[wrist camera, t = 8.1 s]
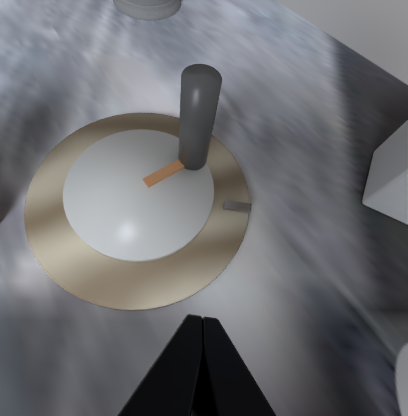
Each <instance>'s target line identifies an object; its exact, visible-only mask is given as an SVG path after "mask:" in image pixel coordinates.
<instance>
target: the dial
mask: <svg viewBox="0 0 408 416" xmlns="http://www.w3.org/2000/svg"><path fill="white" fill-rule="evenodd" d="M221 84H222V77H221V75H220V73H219V72H218V71H217V70H216V69H215V68H213V67H211V66H208V65H205V64H194V65H190V66H188V67H186V68H185V69H184V70H183V72H182V75H181V100H180V128H179V138H178V137H176V136H174V135H171V134H168V133H165V132H160V131H156V130H146V129H137V130H128V131H122V132H118V133H115V134H112V135H109V136H107V137H104V138H102V139H101V140H99V141H97V142H95V143H94V144H92V145H91V146H89V147H88V148H87V149H86V150H85V151H84V152H82V154H81V155H80V156H79V157H78V158H77V159H76V160H75V162H74V163H73V165H72V166H71V168H70V170H69V172H68V174H67V177H66V180H65V183H64V188H63V205H64V210H65V214H66V217H67V219H68V221H69V223H70V225H71V227H72V228H73V229H74V231H75V232H76V234H77V235H78V236H79V237H80V238H81V239H82V240H83V241H84V242H85V243H86V244H87V245H88V246H89V247H91V248H92V249H93V250H95V251H96V252H98V253H100V254H102V255H104V256H106V257H109V258H112V259H115V260H119V261H123V262H133V263H136V262H150V261H155V260H159V259H163V258H166V257H168V256H170V255H173V254H175V253H177V252H178V251H180V250H182V249H183V248H185V247H186V246H187V245H189V244H190V243H191V242H192V241H193V240H194V239H195V238H196V237H197V236H198V235H199V233H200V232H201V231H202V229H203V228H204V226H205V224H206V222H207V220H208V218H209V215H210V212H211V209H212V205H213V200H214V183H213V179H212V175H211V172H210V169H209V167H208V165H207V164H206V161H207V156H208V151H209V146H210V141H211V135H212V130H213V125H214V120H215V115H216V109H217V104H218V99H219V94H220V89H221Z"/></svg>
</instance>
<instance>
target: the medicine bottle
mask: <svg viewBox="0 0 408 416" xmlns="http://www.w3.org/2000/svg"><path fill="white" fill-rule="evenodd" d="M362 203H363V204H364V205H366V206H368V207H370V208H372V209H374V210H377V211H379V212H381V213H383V214H385V215H388V216H390V217H392V218H394V219H396V220H399V221H401V222H403V223H405V224H407V225H408V120H407V121H406V122H405V123H404V124H403V125H402V126H401V127H400V128H399V129H397V130H396V131H395V132H394V133H393V134H392V135H391V136H390V137H389V138H388V139H387V140H386V141H385V142H384V143H382V144H381V145H380V146H379V147H378V148H377V149H376V150H375V151H374V153H373V157H372V161H371V166H370V170H369V174H368V178H367V182H366V186H365V191H364V195H363V199H362Z"/></svg>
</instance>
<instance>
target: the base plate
mask: <svg viewBox="0 0 408 416" xmlns="http://www.w3.org/2000/svg"><path fill="white" fill-rule="evenodd" d="M179 128H180V119H179V118H176V117H172V116H167V115H162V114H154V113H130V114H122V115H116V116H112V117H108V118H104V119H101V120H98V121H96V122H93V123H91V124H88V125H86V126H84V127H82V128H80V129H79V130H77V131H75V132H74V133H72V134H71V135H69V136H68V137H66V138H65V139H64V140H63V141H61V142H60V143H59V144H58V145H57V146H56V147H55V148H54V149H53V150H52V151H51V152H50V153H49V154H48V155H47V156H46V158H45V159H44V160H43V162H42V163H41V164H40V166H39V168H38V169H37V171H36V173H35V175H34V176H33V179H32V181H31V184H30V186H29V189H28V193H27V197H26V201H25V213H24V219H25V230H26V234H27V238H28V242H29V245H30V247H31V250H32V252H33V254H34V256H35V258H36V260H37V261H38V263H39V264H40V266H41V267H42V269H43V270H44V271H45V272H46V273H47V274H48V275H49V276H50V278H51V279H52V280H53V281H54V282H56V283H57V284H58V285H60V286H61V287H62V288H63V289H65V290H66V291H68V292H69V293H71V294H73V295H75V296H77V297H78V298H80V299H82V300H85V301H87V302H90V303H93V304H95V305H98V306H102V307H106V308H111V309H116V310H129V311H136V310H150V309H155V308H160V307H165V306H168V305H171V304H174V303H177V302H180V301H182V300H184V299H186V298H188V297H190V296H192V295H194V294H196V293H197V292H199V291H200V290H202V289H203V288H205V287H206V286H208V285H209V284H210V283H211V282H212V281H213V280H214V279H216V278H217V277H218V276H219V275H220V274H221V273H222V271H223V270H224V269H225V268H226V267H227V265H228V264H229V263H230V262H231V260H232V258H233V257H234V255H235V254H236V252H237V251H238V249H239V247H240V244H241V242H242V240H243V238H244V234H245V231H246V227H247V223H248V216H249V212H250V211H251V204H249V197H248V191H247V186H246V182H245V179H244V176H243V174H242V172H241V169H240V167H239V165H238V164H237V162H236V161H235V159H234V157H233V156H232V155H231V153H230V152H229V151H228V150H227V148H226V147H225V146H224V145H223V144H222V143H221V142H220V141H218V140H217V139H216V138H215V137H214V136H212V135H211V141H210V146H209V151H208V156H207V161H206V164H207V165H208V167H209V169H210V172H211V175H212V179H213V183H214V200H213V205H212V209H211V212H210V215H209V218H208V220H207V222H206V224H205V226H204V228H203V229H202V231H201V232H200V233H199V235H198V236H197V237H196V238H195V239H194V240H193V241H192V242H191V243H190V244H189V245H187V246H186V247H185V248H183V249H182V250H180V251H178V252H177V253H175V254H173V255H170V256H168V257H166V258H163V259H159V260H155V261H150V262H136V263H133V262H123V261H119V260H115V259H112V258H109V257H106V256H104V255H102V254H100V253H98V252H96V251H95V250H93V249H92V248H91V247H89V246H88V245H87V244H86V243H85V242H84V241H83V240H82V239H81V238H80V237H79V236H78V235H77V234H76V232H75V231H74V229H73V228H72V227H71V225H70V223H69V221H68V219H67V217H66V214H65V210H64V205H63V188H64V183H65V180H66V177H67V174H68V172H69V170H70V168H71V166H72V165H73V163H74V162H75V160H76V159H77V158H78V157H79V156H80V155H81V154H82V152H84V151H85V150H86V149H87V148H88V147H89V146H91V145H92V144H94V143H95V142H97V141H99V140H101V139H102V138H104V137H107V136H109V135H112V134H115V133H118V132H122V131H128V130H137V129H146V130H156V131H160V132H165V133H168V134H171V135H174V136H176V137H178V138H179Z"/></svg>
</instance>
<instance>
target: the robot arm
mask: <svg viewBox="0 0 408 416" xmlns="http://www.w3.org/2000/svg"><path fill="white" fill-rule="evenodd" d="M118 416H276V415H275V413H274V411H273V410H272V408H271V406H270V405H269V403H268V401H267V400H266V398H265V396H264V395H263V393H262V391H261V390H260V388H259V386H258V385H257V383H256V381H255V380H254V378H253V376H252V375H251V373H250V371H249V370H248V368H247V366H246V365H245V363H244V361H243V360H242V358H241V356H240V355H239V353H238V351H237V350H236V348H235V347H234V345H233V343H232V342H231V340H230V338H229V337H228V335H227V333H226V332H225V330H224V328H223V327H222V325H221V323H220V322H219V320H218V319H217V318H211V317H203V318H202V317H201V316H198V315H191V314H188V315H187V316H186V317H185V319H184V320H183V322H182V323H181V324H180V326H179V327H178V329H177V330H176V332H175V333H174V335H173V336H172V337H171V339H170V340H169V342H168V343H167V345H166V346H165V348H164V349H163V351H162V352H161V353H160V355H159V356H158V358H157V359H156V361H155V362H154V364H153V365H152V367H151V368H150V369H149V371H148V372H147V374H146V375H145V377H144V378H143V380H142V381H141V383H140V384H139V385H138V387H137V388H136V390H135V391H134V393H133V394H132V396H131V397H130V399H129V400H128V401H127V403H126V404H125V406H124V407H123V409H122V410H121V412H120V413H119V414H118Z"/></svg>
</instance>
